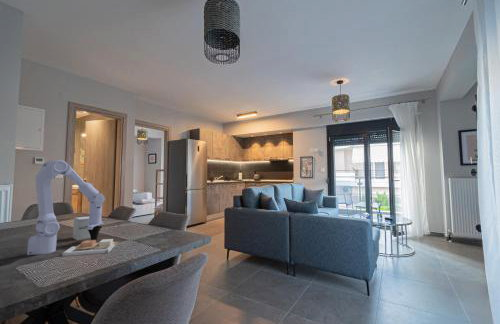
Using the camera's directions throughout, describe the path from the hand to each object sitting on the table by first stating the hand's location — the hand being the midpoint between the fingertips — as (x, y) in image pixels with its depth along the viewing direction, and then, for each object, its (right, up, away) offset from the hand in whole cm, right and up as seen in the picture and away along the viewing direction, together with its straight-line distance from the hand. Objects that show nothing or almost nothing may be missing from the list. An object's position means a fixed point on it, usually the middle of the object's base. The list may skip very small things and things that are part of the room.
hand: (94, 240), depth 123 cm
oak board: (+6, -1, -7) cm, 9 cm away
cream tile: (+10, 0, -5) cm, 11 cm away
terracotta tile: (+2, 0, -8) cm, 8 cm away
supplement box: (-11, -2, +7) cm, 14 cm away
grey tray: (+9, -1, -16) cm, 18 cm away
